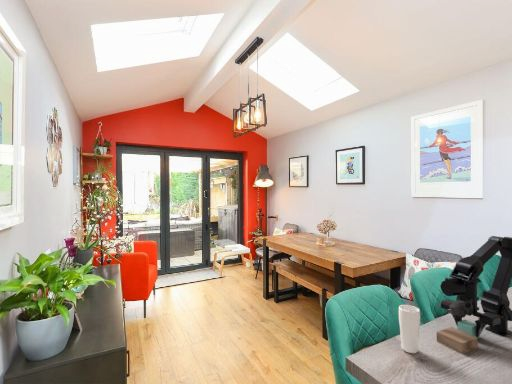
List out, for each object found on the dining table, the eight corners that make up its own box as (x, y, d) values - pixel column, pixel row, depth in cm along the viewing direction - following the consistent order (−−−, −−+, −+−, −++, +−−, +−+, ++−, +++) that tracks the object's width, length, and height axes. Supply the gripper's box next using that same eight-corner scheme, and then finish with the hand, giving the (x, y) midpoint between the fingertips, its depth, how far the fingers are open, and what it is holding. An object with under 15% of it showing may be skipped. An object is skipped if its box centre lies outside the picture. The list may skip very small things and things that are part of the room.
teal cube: (465, 331, 112) (465, 319, 112) (479, 337, 107) (479, 324, 107) (457, 334, 110) (457, 321, 110) (471, 340, 105) (471, 327, 105)
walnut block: (452, 337, 108) (452, 327, 108) (477, 349, 100) (477, 338, 100) (436, 342, 105) (436, 331, 105) (461, 354, 97) (461, 343, 97)
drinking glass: (423, 356, 95) (423, 313, 95) (402, 354, 97) (401, 311, 97) (416, 345, 102) (415, 305, 102) (396, 343, 103) (396, 303, 103)
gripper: (431, 289, 114) (431, 326, 114) (483, 305, 97) (484, 350, 97) (448, 285, 119) (448, 321, 118) (501, 300, 102) (501, 342, 101)
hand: (468, 333), depth 109 cm, fingers open, 6 cm apart
